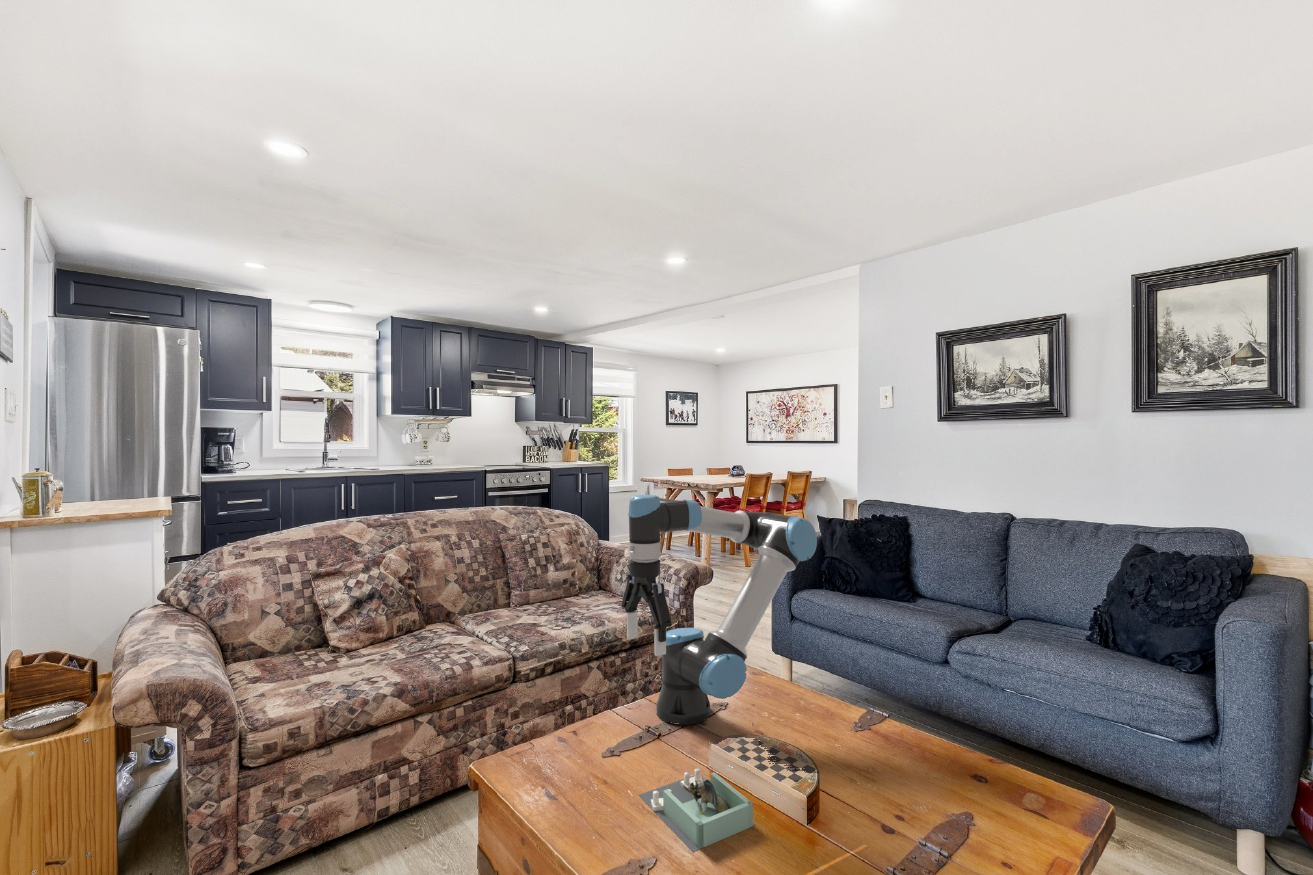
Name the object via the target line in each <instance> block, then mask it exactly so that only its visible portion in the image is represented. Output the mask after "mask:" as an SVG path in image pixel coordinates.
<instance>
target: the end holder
mask: <svg viewBox="0 0 1313 875" xmlns="http://www.w3.org/2000/svg"><path fill="white" fill-rule="evenodd" d="M710 782H711V783H712V784H713V786H714V788H715V791H716V794H718V795H719V796H721V797H722V798H723V799H724V800H725V801H726V802H727V803H728V805H729V806H730V808H731V809H729V810H726V811H724V812H721V813H719V814H718V811H717V810H716V808H715V807H714V806H713V804H711V803H707V806H706V811H705V812H704V813H703V814H701V813H702V803H701V798H700V799H698V801H696V800H695V799H694V800H691V801H689V802H686V803H683V804H682V803H681V802H680V801H679V800H678V799H677V798H676V797H675V796H674V795H673V794H672V793H671V792H670V791H669V790H668V789H667V790H664V791H663V813H664V814H665V815H666V816H667V817H668V818H669V819H670V820H671V821H672V822H673V823H674V824H675V825H676V826H677V827H678V828H679V829H680V830H681V831H682V832H683V833H684V834H685V835H686V836H687V837H688V838H689V839H690V840H691V841H692V842H693V843H694V844H695V845H696V846H697V847H698V848H699V850H701V848H702V849H704V848H706V847H708V845H709V846H711V845H713V844H715V842H716V843H718V842H721V841H722V839H723V840H725V839H727V838H729V836H730V837H732V836H734V835H736V833H737V834H738V832H739V833H740V832H743V831H746V830H748V829H750V828H752V826H753V824H754V803H753V802H752V801H751V800H749V799H748V798H747V797H746V796H745V795H743V794H742V793H741V792H739V791H738V790H737V789H735V787H733V786H732V785H731V784H730V783H729V782H727V781H726V780H724V779H723V778H722V777H721V776H719V775H718V774H717V773H716V772H712V773H710ZM753 827H754V826H753ZM747 828H748V829H747ZM745 829H746V830H745ZM731 835H732V836H731ZM724 838H725V839H724ZM717 841H718V842H717ZM710 844H711V845H710Z"/></svg>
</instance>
